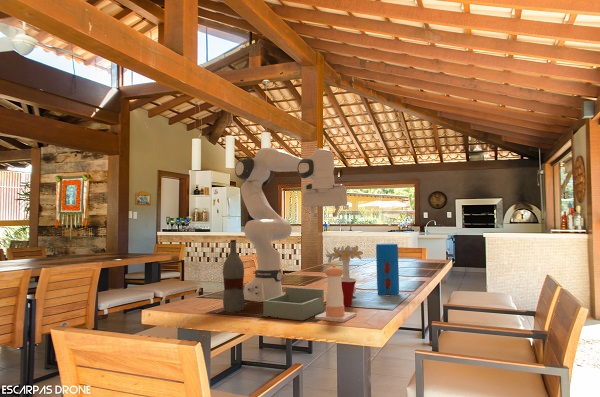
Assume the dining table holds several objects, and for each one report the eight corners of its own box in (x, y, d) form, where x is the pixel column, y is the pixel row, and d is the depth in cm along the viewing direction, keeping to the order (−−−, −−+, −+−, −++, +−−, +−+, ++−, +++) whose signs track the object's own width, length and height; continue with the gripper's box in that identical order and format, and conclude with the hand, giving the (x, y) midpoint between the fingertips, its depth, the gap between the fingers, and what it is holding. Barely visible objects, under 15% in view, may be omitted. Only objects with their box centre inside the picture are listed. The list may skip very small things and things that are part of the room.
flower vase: (327, 294, 220) (326, 245, 221) (363, 294, 218) (362, 244, 219) (326, 298, 207) (325, 246, 208) (364, 298, 205) (363, 246, 206)
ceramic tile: (314, 318, 164) (314, 316, 164) (328, 312, 175) (328, 310, 175) (343, 322, 158) (343, 319, 158) (355, 315, 169) (355, 313, 169)
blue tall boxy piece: (377, 295, 213) (376, 244, 214) (377, 292, 223) (375, 243, 224) (399, 295, 211) (398, 244, 212) (398, 292, 221) (397, 243, 223)
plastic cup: (356, 308, 183) (355, 279, 184) (331, 307, 185) (330, 279, 186) (358, 303, 194) (357, 276, 194) (334, 302, 196) (333, 276, 197)
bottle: (238, 313, 178) (238, 240, 179) (219, 312, 180) (218, 240, 182) (248, 308, 187) (247, 239, 188) (229, 307, 189) (228, 239, 191)
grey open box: (263, 316, 171) (263, 293, 172) (286, 307, 187) (286, 286, 187) (302, 320, 162) (302, 296, 163) (324, 311, 178) (323, 289, 178)
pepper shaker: (347, 315, 164) (346, 265, 165) (329, 317, 162) (328, 266, 163) (340, 312, 171) (339, 263, 172) (323, 313, 169) (322, 264, 170)
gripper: (349, 184, 185) (350, 216, 185) (307, 187, 196) (308, 217, 195) (343, 183, 180) (344, 216, 179) (300, 186, 190) (301, 217, 189)
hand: (325, 217), depth 187 cm, fingers open, 8 cm apart
